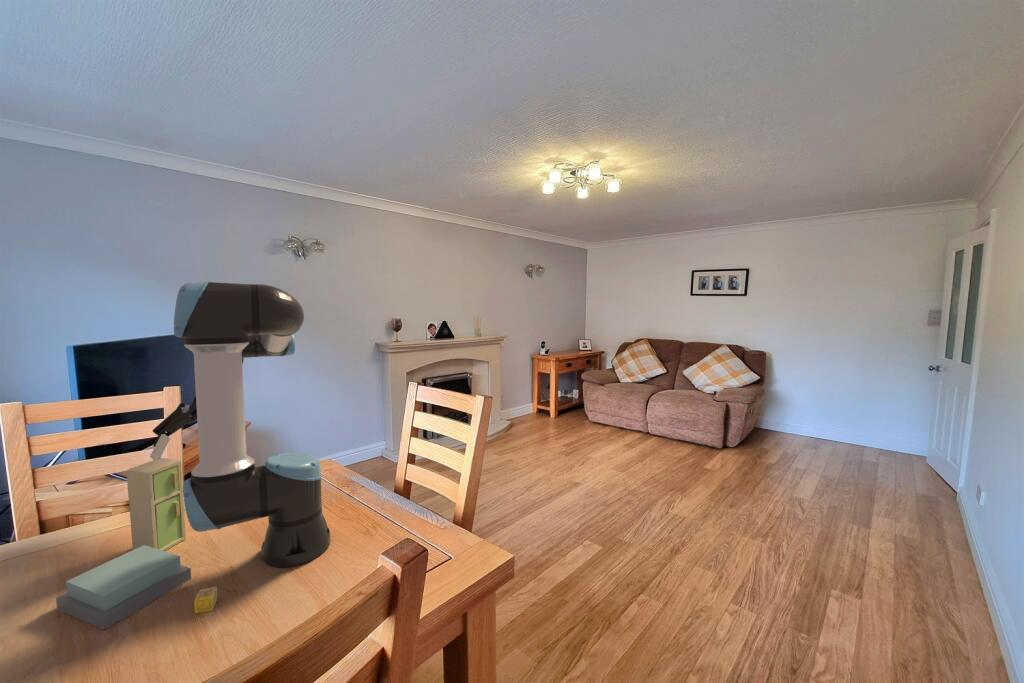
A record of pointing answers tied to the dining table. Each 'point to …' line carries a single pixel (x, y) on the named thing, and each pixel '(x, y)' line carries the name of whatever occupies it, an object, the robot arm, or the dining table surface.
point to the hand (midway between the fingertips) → (181, 458)
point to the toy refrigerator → (156, 504)
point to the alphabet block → (205, 599)
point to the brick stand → (122, 586)
